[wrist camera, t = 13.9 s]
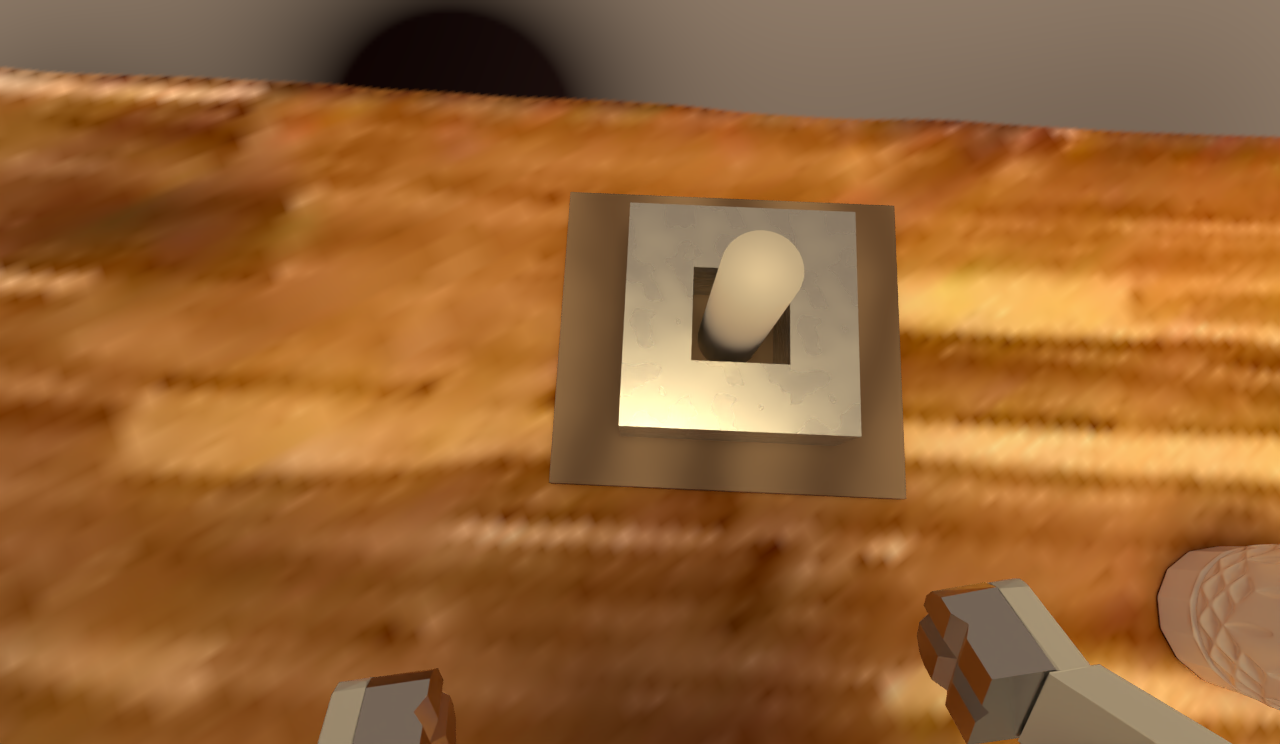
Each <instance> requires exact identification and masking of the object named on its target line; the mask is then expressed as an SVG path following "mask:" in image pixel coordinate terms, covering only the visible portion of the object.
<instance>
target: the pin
mask: <svg viewBox="0 0 1280 744" xmlns="http://www.w3.org/2000/svg"><path fill="white" fill-rule="evenodd" d="M803 279H804V264H803V260H802V257H801V255H800V253H799V251H798V250H797V248H796V247H795V246H794V245H793V243H792V242H790V241H789V240H788V239H787V238H785V237H784V236H782V235H780V234H777V233H775V232H771V231H765V230H756V231H750V232H747V233H744V234H742V235H740V236H738V237H737V238H735V239H734V240H733V241H732V242H731V243H730V244H729V245H728V247H727V248H726V250H725V251H724V253H723V256H722V259H721V262H720V265H719V268H718V271H717V274H716V278H715V281H714V284H713V287H712V290H711V293H710V296H709V299H708V302H707V306H706V309H705V312H704V315H703V318H702V321H701V324H700V327H699V331H698V337H697V339H698V346H699V349H700V351H701V353H702V354H703V356H704V357H705V358H706V359H707V360H708V361H720V362H743V363H746V362H747V361H749V360H750V359H751V357H752V356H753V355H754V353H755V352H756V350H757V349H758V348H759V346H760V345H761V343H762V342H763V341H764V339H765V338H766V336H767V335H768V334H769V332H770V331H771V329H772V328H773V327H774V325H775V324H776V322H777V321H778V320H779V318H780V317H781V315H782V314H783V312H784V311H785V310H786V308H787V307H788V305H789V304H790V303H791V301H792V300H793V298H794V297H795V296H796V294H797V293H798V291H799V290H800V288H801V286H802V283H803Z"/></svg>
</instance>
